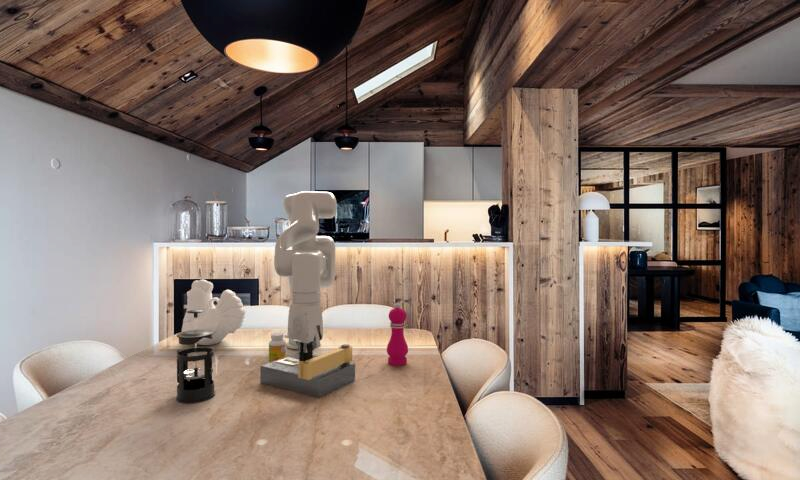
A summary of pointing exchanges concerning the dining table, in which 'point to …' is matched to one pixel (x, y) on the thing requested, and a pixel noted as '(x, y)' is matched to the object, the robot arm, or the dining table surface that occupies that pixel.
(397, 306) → the pepper mill
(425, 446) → the dining table surface
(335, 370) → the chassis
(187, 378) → the french press
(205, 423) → the dining table surface
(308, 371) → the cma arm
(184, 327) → the decorative rooster
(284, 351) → the supplement bottle
